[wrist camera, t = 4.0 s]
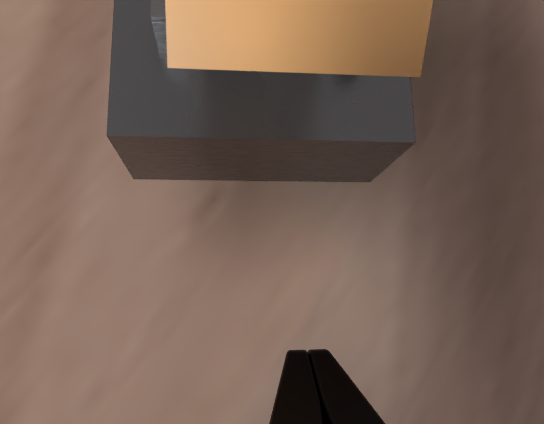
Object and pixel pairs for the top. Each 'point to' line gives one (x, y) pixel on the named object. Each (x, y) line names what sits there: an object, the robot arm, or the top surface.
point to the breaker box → (245, 115)
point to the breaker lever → (299, 36)
